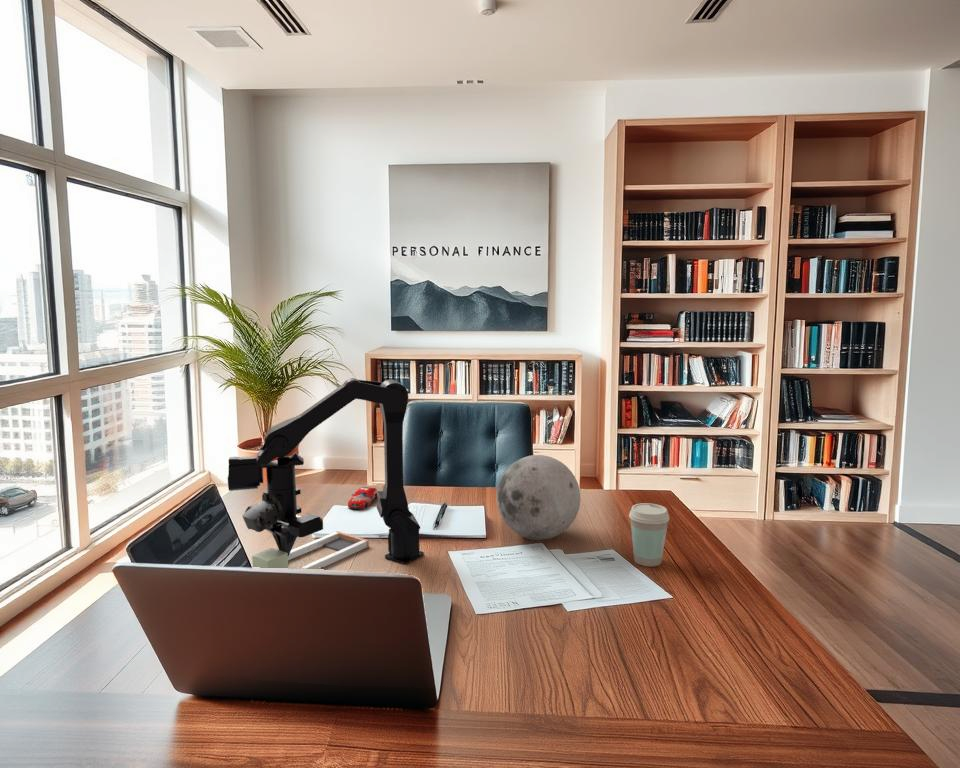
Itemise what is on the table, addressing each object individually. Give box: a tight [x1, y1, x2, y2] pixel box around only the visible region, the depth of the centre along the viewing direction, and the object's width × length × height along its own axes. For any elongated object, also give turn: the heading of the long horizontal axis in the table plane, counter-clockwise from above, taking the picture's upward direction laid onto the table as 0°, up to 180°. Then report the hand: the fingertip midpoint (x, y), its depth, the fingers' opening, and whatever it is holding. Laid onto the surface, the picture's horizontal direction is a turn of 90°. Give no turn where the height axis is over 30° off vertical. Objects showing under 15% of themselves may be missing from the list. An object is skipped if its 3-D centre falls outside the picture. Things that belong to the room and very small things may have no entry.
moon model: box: [496, 454, 581, 541], centre depth 154 cm, size 20×20×20 cm
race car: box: [347, 486, 378, 510], centre depth 181 cm, size 13×5×4 cm, turn 168°
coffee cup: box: [628, 502, 670, 567], centre depth 140 cm, size 8×8×12 cm
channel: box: [288, 531, 367, 570], centre depth 145 cm, size 10×18×2 cm, turn 145°
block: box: [251, 547, 289, 569], centre depth 134 cm, size 5×5×5 cm
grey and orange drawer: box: [322, 531, 370, 552], centre depth 150 cm, size 10×6×2 cm, turn 55°
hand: (285, 557), depth 136 cm, fingers closed, pressing on block
